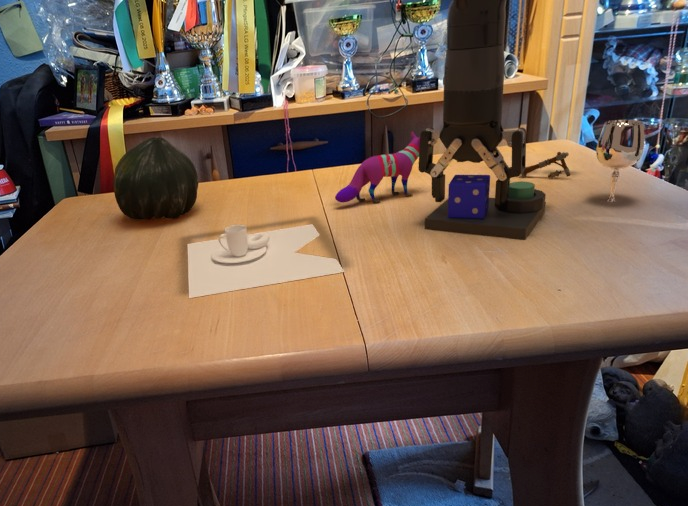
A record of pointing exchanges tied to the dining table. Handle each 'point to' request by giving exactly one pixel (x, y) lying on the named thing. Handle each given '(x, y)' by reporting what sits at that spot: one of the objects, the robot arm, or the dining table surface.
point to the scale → (494, 218)
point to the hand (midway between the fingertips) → (468, 202)
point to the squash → (155, 181)
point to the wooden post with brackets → (544, 163)
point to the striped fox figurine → (382, 172)
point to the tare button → (521, 190)
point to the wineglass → (620, 147)
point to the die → (468, 196)
